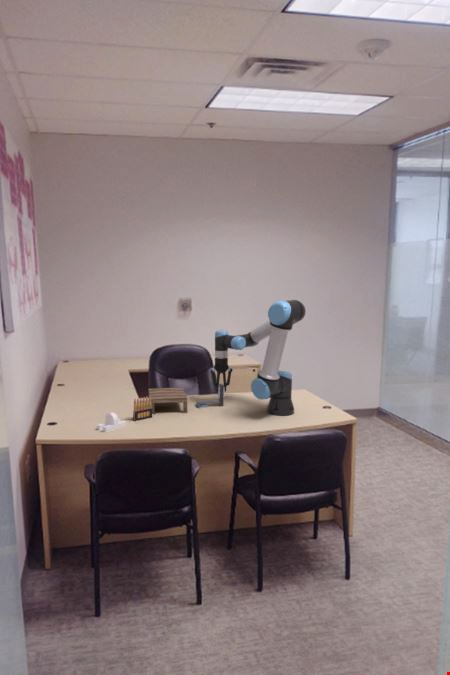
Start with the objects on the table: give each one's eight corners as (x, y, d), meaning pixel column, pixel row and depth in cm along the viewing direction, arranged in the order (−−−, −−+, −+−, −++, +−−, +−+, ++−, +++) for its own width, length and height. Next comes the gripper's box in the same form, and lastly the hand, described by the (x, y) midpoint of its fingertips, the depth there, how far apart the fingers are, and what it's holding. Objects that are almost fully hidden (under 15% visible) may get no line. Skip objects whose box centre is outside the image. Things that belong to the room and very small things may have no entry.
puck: (208, 407, 289) (208, 405, 289) (199, 407, 288) (199, 406, 288) (206, 404, 294) (206, 403, 294) (198, 405, 293) (198, 403, 293)
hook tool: (223, 406, 290) (224, 385, 288) (198, 407, 287) (198, 386, 285) (221, 402, 297) (221, 383, 295) (196, 404, 294) (196, 384, 292)
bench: (187, 412, 277) (187, 397, 276) (150, 414, 274) (150, 399, 272) (182, 401, 301) (182, 387, 299) (148, 402, 297) (148, 388, 296)
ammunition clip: (134, 421, 262) (134, 398, 260) (133, 420, 263) (132, 398, 262) (152, 417, 268) (152, 395, 267) (150, 416, 270) (150, 395, 268)
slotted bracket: (117, 423, 258) (117, 409, 257) (126, 426, 254) (126, 411, 253) (96, 429, 248) (96, 414, 247) (105, 432, 244) (105, 417, 243)
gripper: (232, 355, 294) (232, 394, 297) (207, 356, 291) (207, 396, 295) (235, 358, 287) (235, 398, 290) (209, 358, 284) (209, 399, 287)
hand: (221, 397), depth 292 cm, fingers closed on hook tool, 2 cm apart
